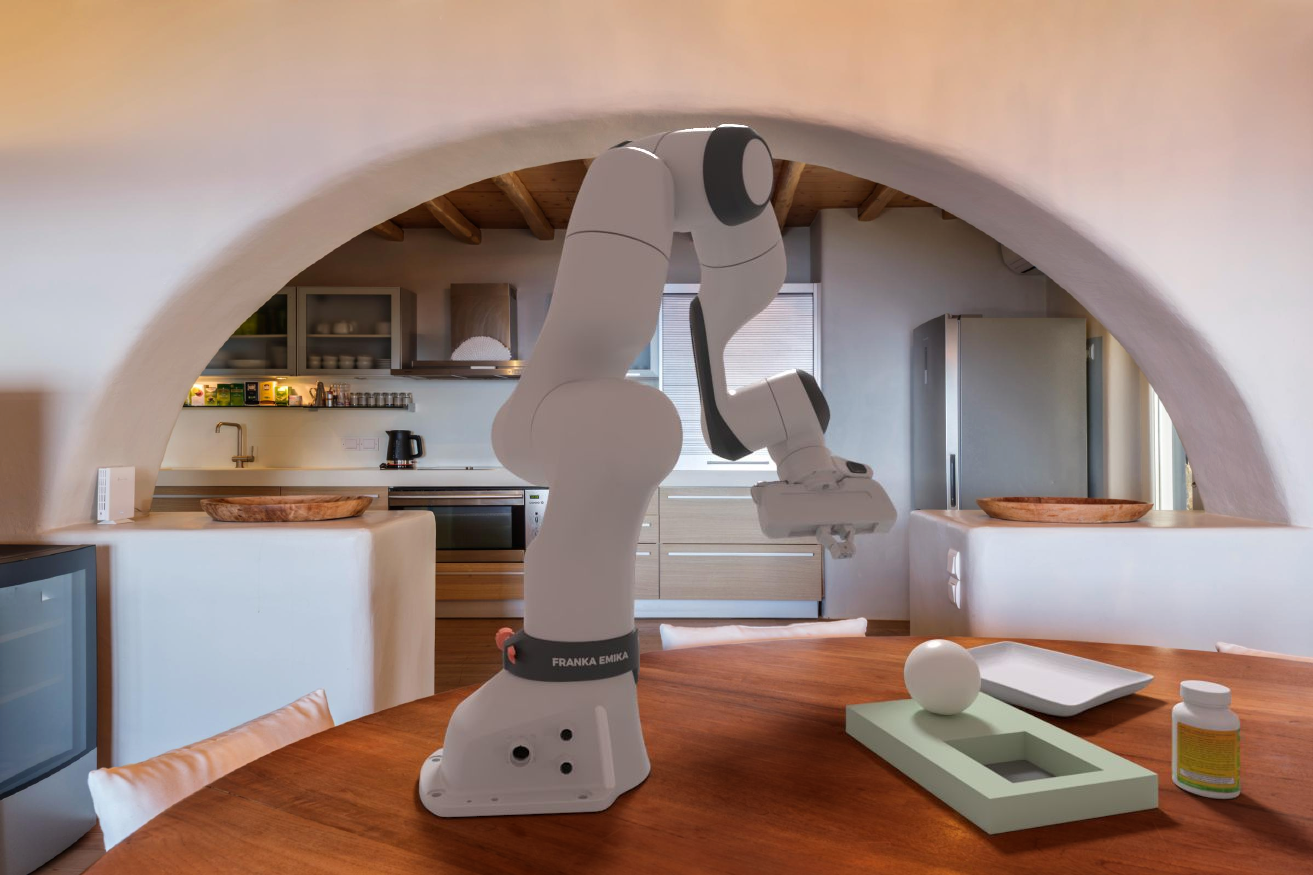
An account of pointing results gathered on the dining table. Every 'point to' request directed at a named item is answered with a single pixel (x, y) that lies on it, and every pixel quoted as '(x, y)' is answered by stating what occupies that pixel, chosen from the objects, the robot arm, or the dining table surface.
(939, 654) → the ball
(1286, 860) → the dining table surface
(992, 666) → the salad plate
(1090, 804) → the putting deck
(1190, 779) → the supplement bottle
